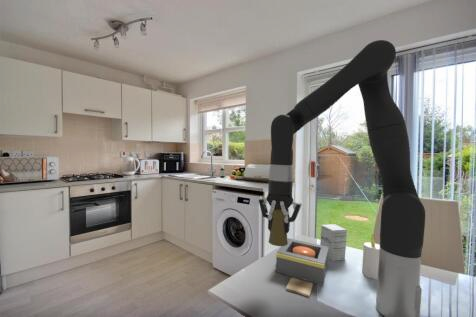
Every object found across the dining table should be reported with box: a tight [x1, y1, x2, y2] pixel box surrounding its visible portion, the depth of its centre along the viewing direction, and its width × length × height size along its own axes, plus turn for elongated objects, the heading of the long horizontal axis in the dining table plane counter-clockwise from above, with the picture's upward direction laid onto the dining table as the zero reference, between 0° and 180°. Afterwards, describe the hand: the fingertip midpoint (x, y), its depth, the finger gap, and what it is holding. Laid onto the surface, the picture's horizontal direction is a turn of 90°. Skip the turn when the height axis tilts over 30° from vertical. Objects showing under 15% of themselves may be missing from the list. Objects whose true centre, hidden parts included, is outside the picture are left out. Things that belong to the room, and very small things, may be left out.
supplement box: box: [319, 223, 348, 262], centre depth 96 cm, size 7×7×13 cm
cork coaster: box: [285, 276, 314, 298], centre depth 72 cm, size 7×7×1 cm
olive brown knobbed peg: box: [268, 209, 288, 247], centre depth 73 cm, size 6×6×11 cm
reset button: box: [293, 246, 315, 258], centre depth 85 cm, size 8×8×3 cm
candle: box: [361, 233, 380, 280], centre depth 83 cm, size 6×6×15 cm
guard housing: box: [275, 237, 329, 286], centre depth 85 cm, size 16×17×7 cm
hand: (278, 232), depth 73 cm, fingers closed on olive brown knobbed peg, 4 cm apart
